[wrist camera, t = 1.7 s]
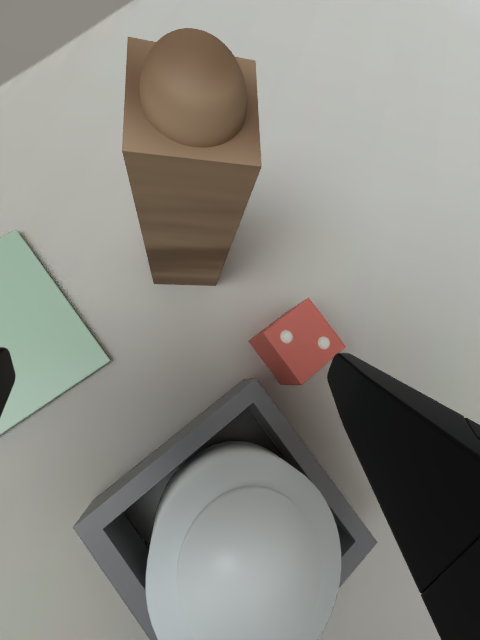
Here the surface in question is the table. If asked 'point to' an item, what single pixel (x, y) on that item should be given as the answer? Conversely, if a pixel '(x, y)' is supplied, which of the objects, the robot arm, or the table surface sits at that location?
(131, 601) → the grey square tray
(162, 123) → the brown post with ball
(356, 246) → the table surface
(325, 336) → the red die
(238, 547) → the dome
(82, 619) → the table surface
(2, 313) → the pad
